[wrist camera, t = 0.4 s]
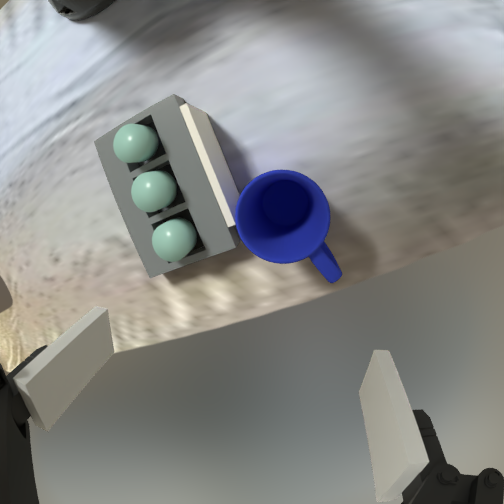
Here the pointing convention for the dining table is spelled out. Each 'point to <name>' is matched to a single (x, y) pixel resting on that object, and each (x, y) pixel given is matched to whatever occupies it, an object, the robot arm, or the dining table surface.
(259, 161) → the dining table surface
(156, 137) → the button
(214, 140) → the pattern card
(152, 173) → the button middle
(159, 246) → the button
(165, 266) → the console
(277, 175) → the mug
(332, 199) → the dining table surface
